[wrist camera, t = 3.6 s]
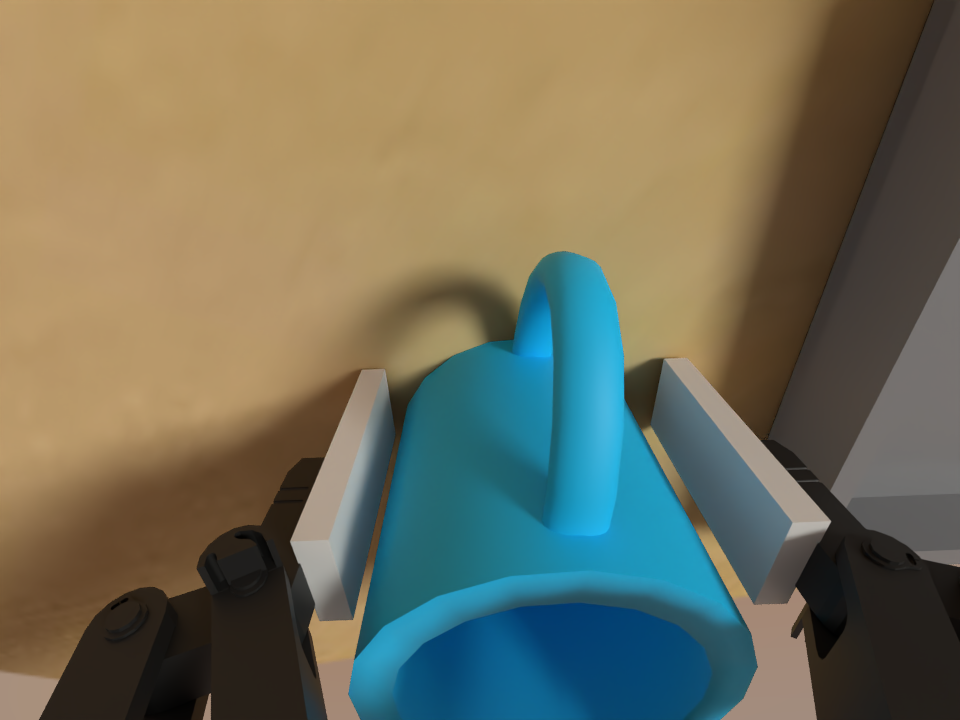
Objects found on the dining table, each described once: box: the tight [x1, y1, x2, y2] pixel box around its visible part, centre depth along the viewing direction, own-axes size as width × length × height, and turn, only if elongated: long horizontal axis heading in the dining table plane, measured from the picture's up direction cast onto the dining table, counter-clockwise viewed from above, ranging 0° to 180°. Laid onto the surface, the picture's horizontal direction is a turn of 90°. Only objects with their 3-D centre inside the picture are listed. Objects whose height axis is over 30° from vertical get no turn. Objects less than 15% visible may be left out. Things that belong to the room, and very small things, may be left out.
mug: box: [348, 251, 758, 720], centre depth 12 cm, size 12×8×8 cm
